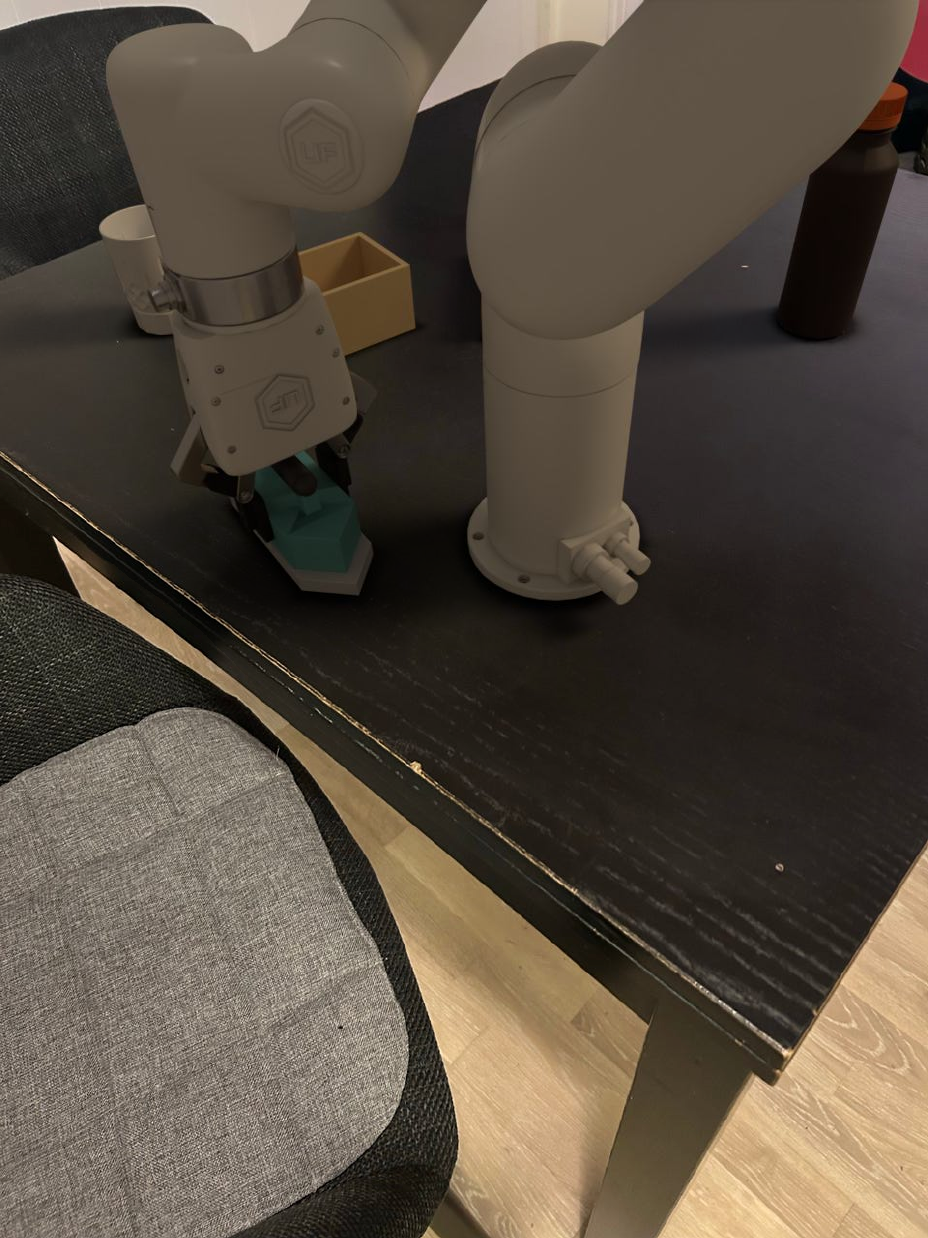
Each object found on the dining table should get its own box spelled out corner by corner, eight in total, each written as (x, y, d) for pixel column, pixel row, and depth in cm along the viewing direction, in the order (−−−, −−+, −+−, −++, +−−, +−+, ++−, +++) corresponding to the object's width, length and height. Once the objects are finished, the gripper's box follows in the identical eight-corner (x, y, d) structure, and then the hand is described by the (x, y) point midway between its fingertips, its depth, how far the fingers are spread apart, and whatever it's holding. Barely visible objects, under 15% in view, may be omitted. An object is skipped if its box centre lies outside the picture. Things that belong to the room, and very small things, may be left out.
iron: (232, 505, 69) (205, 426, 64) (299, 474, 71) (278, 396, 66) (321, 614, 61) (299, 534, 55) (394, 576, 63) (380, 495, 57)
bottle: (784, 299, 87) (838, 71, 72) (855, 311, 85) (926, 79, 70) (768, 332, 83) (822, 98, 68) (842, 346, 81) (915, 108, 66)
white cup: (117, 331, 89) (81, 233, 81) (162, 295, 94) (132, 199, 86) (182, 344, 87) (151, 244, 79) (225, 305, 91) (199, 208, 84)
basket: (415, 328, 87) (409, 264, 82) (297, 374, 82) (283, 309, 77) (368, 292, 92) (360, 231, 87) (254, 334, 87) (239, 271, 82)
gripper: (120, 357, 46) (214, 594, 60) (395, 255, 52) (425, 491, 66) (76, 304, 51) (173, 535, 64) (334, 215, 57) (374, 444, 70)
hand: (300, 511), depth 65 cm, fingers closed on iron, 5 cm apart
